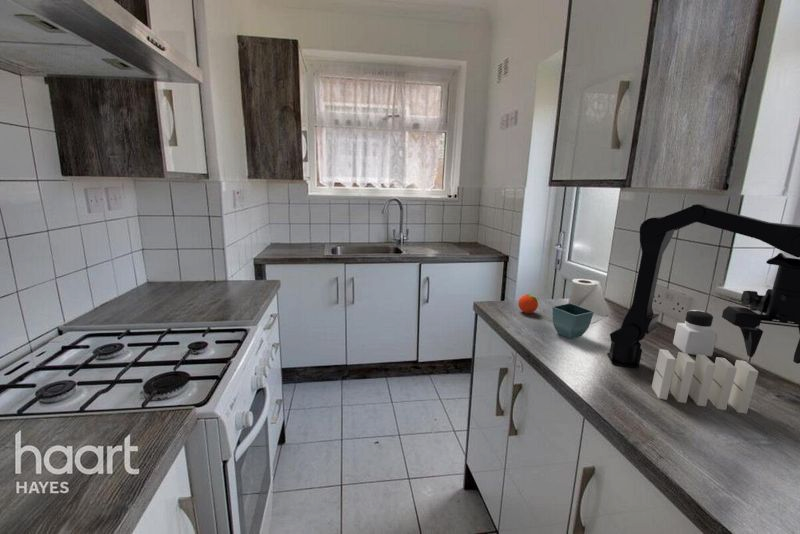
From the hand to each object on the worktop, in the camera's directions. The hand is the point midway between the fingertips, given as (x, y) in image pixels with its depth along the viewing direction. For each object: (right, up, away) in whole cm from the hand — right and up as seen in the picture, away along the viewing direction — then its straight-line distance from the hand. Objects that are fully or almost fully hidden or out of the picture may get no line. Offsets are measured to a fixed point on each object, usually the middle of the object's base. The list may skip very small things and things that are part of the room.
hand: (772, 359), depth 78 cm
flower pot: (-25, -2, +40) cm, 47 cm away
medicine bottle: (+8, -5, +32) cm, 33 cm away
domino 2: (-15, -10, +7) cm, 20 cm away
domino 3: (-11, -11, +6) cm, 17 cm away
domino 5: (-4, -11, +4) cm, 13 cm away
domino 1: (-19, -10, +8) cm, 23 cm away
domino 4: (-8, -11, +5) cm, 14 cm away
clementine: (-31, +2, +59) cm, 67 cm away
